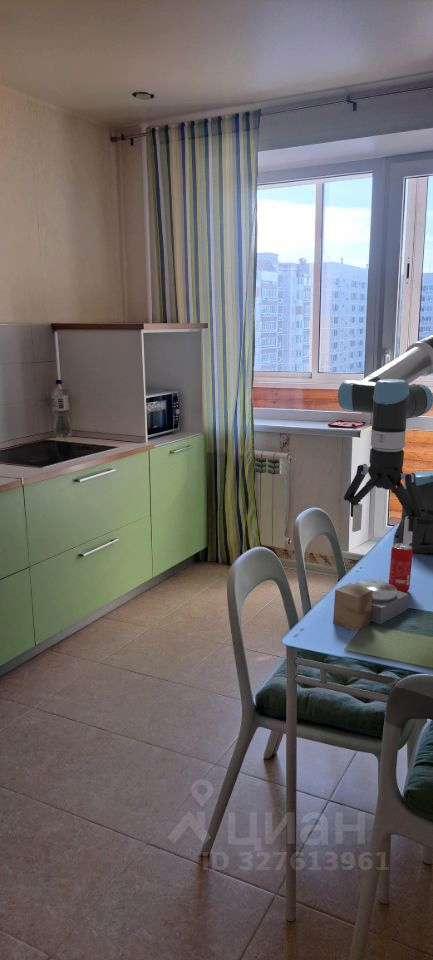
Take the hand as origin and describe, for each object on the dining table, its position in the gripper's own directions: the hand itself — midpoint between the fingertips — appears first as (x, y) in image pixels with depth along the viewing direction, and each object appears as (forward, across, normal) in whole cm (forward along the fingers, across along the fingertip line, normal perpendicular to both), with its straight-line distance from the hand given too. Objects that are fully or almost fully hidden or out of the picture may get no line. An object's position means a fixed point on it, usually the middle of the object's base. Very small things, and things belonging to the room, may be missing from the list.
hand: (381, 537), depth 164 cm
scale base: (+17, +1, -2) cm, 18 cm away
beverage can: (+18, -1, +13) cm, 22 cm away
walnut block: (+17, +1, -12) cm, 21 cm away
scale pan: (+13, +1, -2) cm, 14 cm away
